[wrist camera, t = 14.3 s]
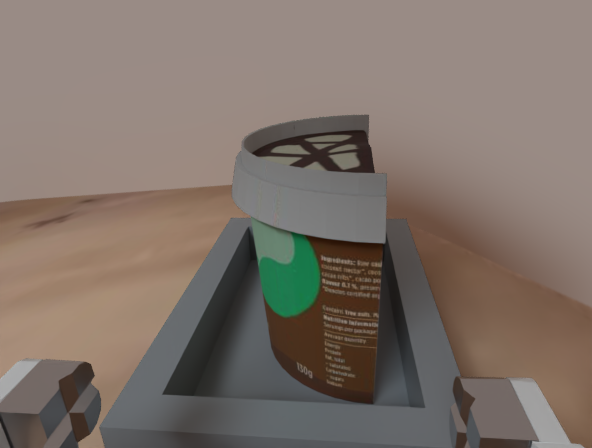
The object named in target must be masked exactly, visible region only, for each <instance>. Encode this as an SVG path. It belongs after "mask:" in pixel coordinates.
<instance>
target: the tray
mask: <svg viewBox="0 0 592 448" xmlns="http://www.w3.org/2000/svg"><path fill="white" fill-rule="evenodd" d="M456 376H461V375H460V372H459V369H458V366H457V363H456V361H455V358H454V355H453V352H452V349H451V346H450V343H449V341H448V338H447V335H446V332H445V329H444V326H443V323H442V320H441V318H440V315H439V312H438V309H437V306H436V303H435V300H434V298H433V295H432V292H431V289H430V286H429V283H428V280H427V277H426V275H425V272H424V269H423V266H422V263H421V260H420V257H419V254H418V252H417V249H416V246H415V243H414V240H413V237H412V234H411V232H410V229H409V226H408V223H407V220H406V219H386V239H385V243H383V254H382V270H381V287H380V303H379V320H378V337H377V353H376V370H375V386H374V403H373V404H365V403H355V402H349V401H345V400H341V399H336V398H333V397H330V396H327V395H324V394H322V393H319V392H316V391H314V390H313V389H311V388H309V387H307V386H305V385H303V384H301V383H300V382H298V381H297V380H296V379H294V378H293V377H291V376H290V375H289V374H288V373H287V372H286V371H285V370H284V369H283V368H282V367H281V365H280V364H279V362H278V361H277V360H276V358H275V356H274V354H273V351H272V349H271V343H270V336H269V330H268V324H267V317H266V311H265V305H264V298H263V292H262V285H261V279H260V273H259V266H258V260H257V254H256V247H255V241H254V235H253V228H252V222H251V218H231V219H230V221H229V222H228V224H227V225H226V227H225V228H224V230H223V232H222V233H221V235H220V236H219V238H218V240H217V241H216V243H215V244H214V246H213V248H212V249H211V251H210V252H209V254H208V255H207V257H206V259H205V260H204V262H203V263H202V265H201V267H200V268H199V270H198V271H197V273H196V274H195V276H194V278H193V279H192V281H191V282H190V284H189V286H188V287H187V289H186V290H185V292H184V294H183V295H182V297H181V298H180V300H179V301H178V303H177V305H176V306H175V308H174V309H173V311H172V313H171V314H170V316H169V317H168V319H167V320H166V322H165V324H164V325H163V327H162V328H161V330H160V332H159V333H158V335H157V336H156V338H155V340H154V341H153V343H152V344H151V346H150V347H149V349H148V351H147V352H146V354H145V355H144V357H143V359H142V360H141V362H140V363H139V365H138V366H137V368H136V370H135V371H134V373H133V374H132V376H131V378H130V379H129V381H128V382H127V384H126V385H125V387H124V389H123V390H122V392H121V393H120V395H119V397H118V398H117V400H116V401H115V403H114V405H113V406H112V408H111V409H110V411H109V412H108V414H107V416H106V417H105V419H104V420H103V422H102V424H101V425H100V427H99V428H100V431H101V435H102V438H103V442H104V446H105V448H452V444H451V438H450V429H449V416H450V407H451V406H452V405H453V404H454V403H455V402H456V401H455V398H454V394H453V384H454V380H455V377H456Z"/></svg>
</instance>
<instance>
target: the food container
mask: <svg viewBox="0 0 592 448" xmlns="http://www.w3.org/2000/svg"><path fill="white" fill-rule="evenodd" d="M368 131H369V115H345V116H330V117H319V118H310V119H303V120H297V121H290V122H285V123H280V124H276V125H272V126H268V127H265V128H262V129H259V130H257V131H254V132H252V133H250V134H249V135H247V136H246V137H245V138H244V139H243V141H242V151H240V152H239V154H238V155H237V157H236V161H235V170H234V177H233V185H232V198H233V200H234V202H235V204H236V205H237V206H238V207H239V208H240V209H241V210H242V211H243V212H245V213H246V214H248V215H250V216H251V222H252V228H253V235H254V241H255V247H256V254H257V260H258V266H259V273H260V279H261V285H262V292H263V298H264V305H265V311H266V317H267V324H268V330H269V336H270V343H271V349H272V351H273V354H274V356H275V358H276V360H277V361H278V362H279V364H280V365H281V367H282V368H283V369H284V370H285V371H286V372H287V373H288V374H289V375H290V376H291V377H293V378H294V379H296V380H297V381H298V382H300V383H301V384H303V385H305V386H307V387H309V388H311V389H313V390H314V391H316V392H319V393H322V394H324V395H327V396H330V397H333V398H336V399H341V400H345V401H349V402H355V403H365V404H373V403H374V386H375V370H376V353H377V337H378V320H379V303H380V287H381V270H382V254H383V243H385V239H386V204H387V197H386V186H387V174H383V173H375V171H374V165H373V158H372V151H371V147H370V145H369V144H368Z"/></svg>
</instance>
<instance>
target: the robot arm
mask: <svg viewBox="0 0 592 448" xmlns="http://www.w3.org/2000/svg"><path fill="white" fill-rule="evenodd" d="M94 376H95V375H94V372H93V369H92V366H91V364H89V363H87V362H81V361H65V360H50V359H45V360H42V359H28V358H26V359H23V360H20V361H18V362H17V363H16V364H15V365H14V366H13V367H12V368H11V369H10V370H9V371H8V372H7V373H6V374H5V375H4V376H3V377H2V378H1V379H0V448H79V447H78V442H79V441H81V440H82V439H84V438H85V437H87V436H88V435H90V434H91V432H92V430H93V429H94V427H95V425H96V424H97V421H98V418H99V414H100V411H101V398H100V394H99V391H98V390H97V389H96V388H95V387H94V386H93V385H92V384H91V381H92V379H93V378H94ZM453 394H454V398H455V401H456V402H455V403H454V404H453V405H452V406H451V407H450V416H449V429H450V438H451V444H452V448H585V447H583V446H582V445H580V444H572V443H571V442H570V440H569V438H568V436H567V435H566V433H565V431H564V429H563V428H562V426H561V424H560V423H559V421H558V419H557V417H556V416H555V414H554V412H553V410H552V409H551V407H550V405H549V404H548V402H547V400H546V398H545V397H544V395H543V393H542V391H541V390H540V388H539V386H538V385H537V383H536V381H534V380H533V379H532V378H510V377H506V378H495V377H464V376H456V377H455V380H454V384H453Z"/></svg>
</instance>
